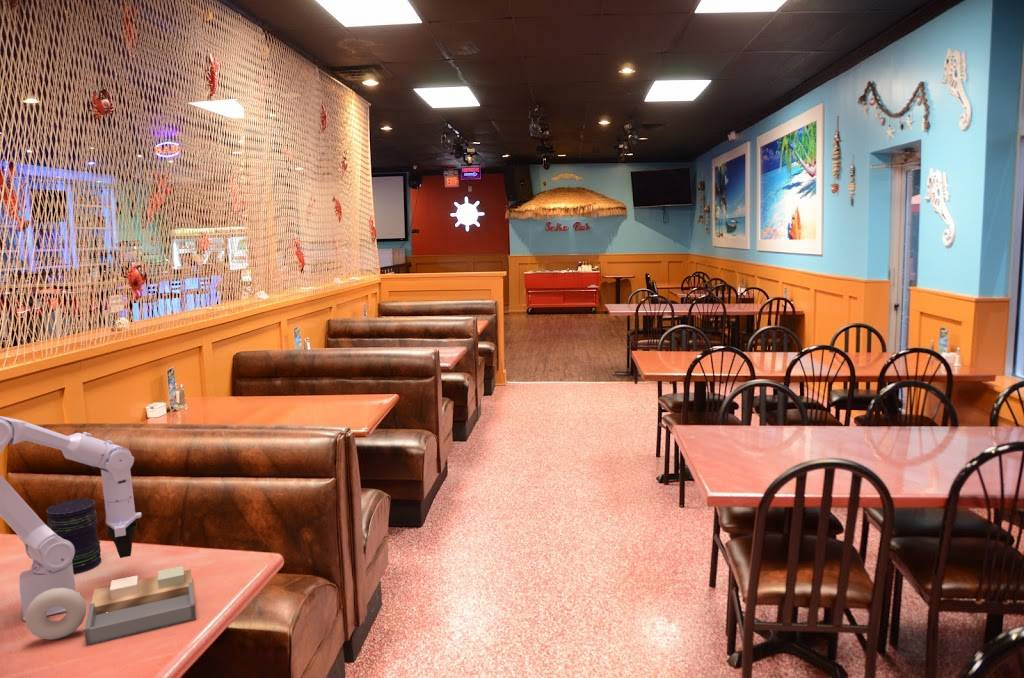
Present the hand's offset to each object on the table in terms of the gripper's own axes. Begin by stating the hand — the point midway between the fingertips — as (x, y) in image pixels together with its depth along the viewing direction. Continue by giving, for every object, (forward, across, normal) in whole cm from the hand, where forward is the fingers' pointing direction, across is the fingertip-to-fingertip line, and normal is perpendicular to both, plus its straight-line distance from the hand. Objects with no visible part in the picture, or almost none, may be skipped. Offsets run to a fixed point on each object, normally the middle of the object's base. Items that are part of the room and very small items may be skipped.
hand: (125, 555), depth 160 cm
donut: (+6, -21, +11) cm, 24 cm away
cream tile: (+4, -10, 0) cm, 11 cm away
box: (+6, -21, -3) cm, 22 cm away
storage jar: (+6, +15, +11) cm, 20 cm away
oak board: (+6, -10, -3) cm, 12 cm away
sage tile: (+4, -10, -9) cm, 14 cm away
